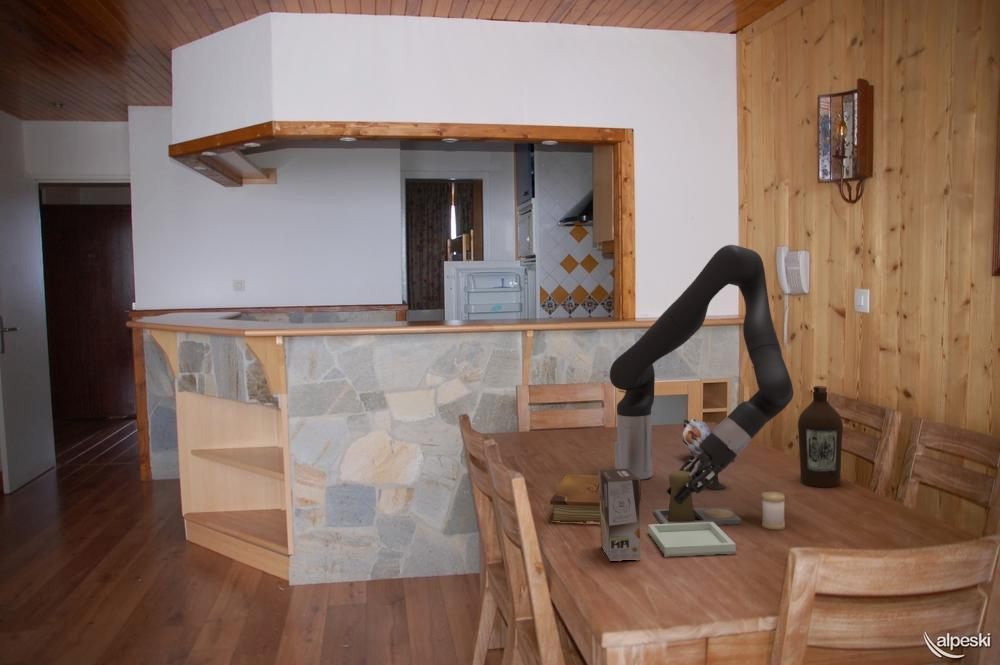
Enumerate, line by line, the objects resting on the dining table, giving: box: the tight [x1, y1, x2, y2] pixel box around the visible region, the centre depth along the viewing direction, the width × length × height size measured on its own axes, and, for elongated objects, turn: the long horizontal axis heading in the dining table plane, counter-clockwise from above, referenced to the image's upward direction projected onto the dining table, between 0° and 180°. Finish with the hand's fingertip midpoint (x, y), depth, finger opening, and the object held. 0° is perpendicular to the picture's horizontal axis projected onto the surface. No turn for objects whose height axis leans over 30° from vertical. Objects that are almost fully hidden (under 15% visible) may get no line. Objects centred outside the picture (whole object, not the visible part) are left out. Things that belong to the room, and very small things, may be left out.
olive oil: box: [797, 385, 844, 488], centre depth 198 cm, size 11×11×25 cm
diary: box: [549, 474, 642, 523], centre depth 183 cm, size 23×19×6 cm
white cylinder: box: [761, 491, 786, 531], centre depth 167 cm, size 5×5×7 cm
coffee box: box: [598, 468, 641, 560], centre depth 153 cm, size 9×6×16 cm
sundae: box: [705, 466, 727, 490], centre depth 199 cm, size 7×7×15 cm
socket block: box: [653, 506, 742, 526], centre depth 173 cm, size 17×10×1 cm, turn 92°
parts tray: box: [647, 522, 737, 557], centre depth 158 cm, size 14×14×2 cm
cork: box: [667, 470, 696, 522], centre depth 173 cm, size 6×6×11 cm
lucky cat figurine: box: [682, 418, 713, 458], centre depth 228 cm, size 15×12×14 cm
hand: (673, 497), depth 173 cm, fingers closed on cork, 5 cm apart
